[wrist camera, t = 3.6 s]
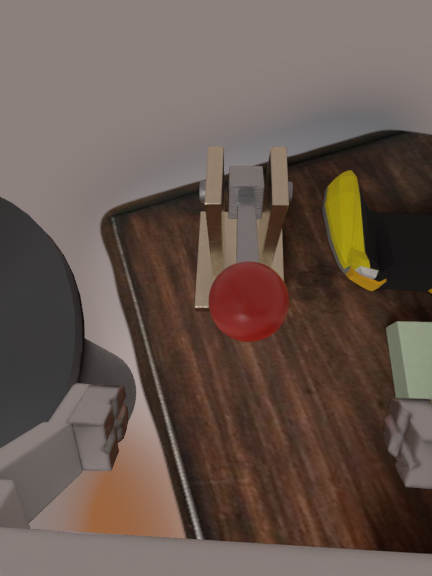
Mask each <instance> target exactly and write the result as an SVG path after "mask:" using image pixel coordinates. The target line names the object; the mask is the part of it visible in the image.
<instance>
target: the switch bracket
mask: <svg viewBox="0 0 432 576" xmlns="http://www.w3.org/2000/svg"><path fill="white" fill-rule="evenodd" d="M292 195H293V184H292V182H288V171H287V149H286V147H271V150H270V156H269V162H268V168H267V174H266V181H265V188H264V199H263V209H262V219H256V221H257V236H258V251H259V263H261V264H264V265H266V266H268V267H270V268H272V269H273V270H274V271H275V272H277V273H278V275H279V276H280V277H281V278H282V280H283V281H284V266H283V238H282V227H283V224H284V220H285V217H286V213H287V210H288V206H289V204H290V203H291V201H292ZM200 202H201V203H205V211H206V212H201V215H200V231H199V246H198V261H197V277H196V292H195V310H196V311H210V310H209V293H210V289H211V286H212V284H213V282H214V280H215V279H216V278H217V276H218V275H219V274H220V273H221V272H222V271H223V270H224V269H226V268H227V267H229V266H231V265H233V264H236V246H237V219H229V218H228V212H225V207H224V148H223V147H222V146H218V147H217V146H209V147H208V156H207V173H206V181H200Z"/></svg>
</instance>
